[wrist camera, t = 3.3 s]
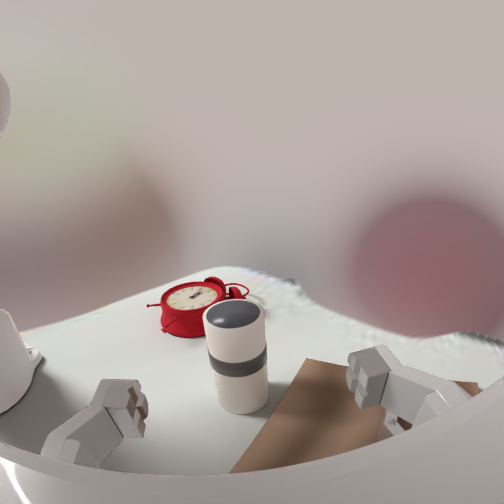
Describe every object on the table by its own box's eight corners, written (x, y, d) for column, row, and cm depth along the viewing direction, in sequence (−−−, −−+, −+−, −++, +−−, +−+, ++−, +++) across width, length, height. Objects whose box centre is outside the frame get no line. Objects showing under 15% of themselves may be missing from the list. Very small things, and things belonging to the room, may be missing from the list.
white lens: (208, 403, 26) (189, 320, 22) (235, 374, 30) (224, 294, 26) (253, 421, 23) (244, 337, 20) (277, 387, 27) (274, 304, 24)
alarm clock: (139, 299, 41) (216, 252, 48) (156, 329, 44) (227, 282, 51) (167, 328, 33) (257, 268, 40) (186, 362, 36) (267, 302, 43)
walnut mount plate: (223, 487, 16) (221, 482, 16) (306, 364, 30) (306, 358, 30) (467, 533, 7) (474, 529, 6) (474, 389, 21) (477, 382, 20)
